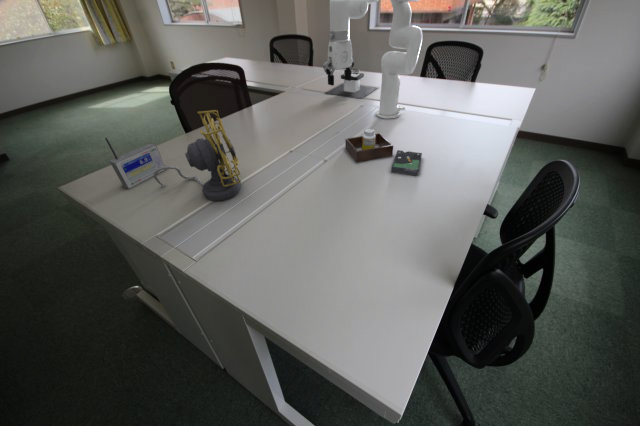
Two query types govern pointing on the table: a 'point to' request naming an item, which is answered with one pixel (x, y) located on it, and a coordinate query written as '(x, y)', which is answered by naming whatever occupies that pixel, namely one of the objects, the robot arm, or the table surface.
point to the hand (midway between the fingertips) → (339, 82)
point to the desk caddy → (368, 154)
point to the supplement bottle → (368, 139)
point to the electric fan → (212, 161)
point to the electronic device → (137, 164)
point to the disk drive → (406, 162)
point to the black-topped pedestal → (352, 86)
